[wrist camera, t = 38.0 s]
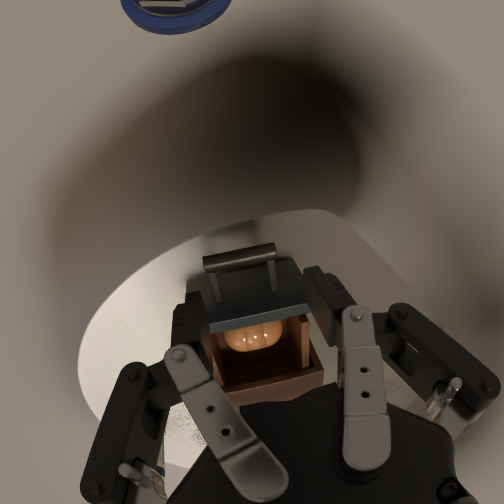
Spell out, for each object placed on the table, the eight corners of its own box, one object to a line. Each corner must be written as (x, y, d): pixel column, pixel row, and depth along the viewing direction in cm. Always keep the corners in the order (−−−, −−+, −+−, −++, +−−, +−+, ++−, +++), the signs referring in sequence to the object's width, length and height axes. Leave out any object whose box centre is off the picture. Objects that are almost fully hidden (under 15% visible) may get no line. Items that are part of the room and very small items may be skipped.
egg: (225, 335, 32) (229, 363, 28) (217, 307, 30) (220, 336, 26) (278, 323, 32) (288, 350, 28) (275, 294, 30) (286, 321, 26)
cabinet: (201, 337, 34) (205, 396, 26) (299, 316, 35) (324, 369, 27) (225, 397, 41) (232, 445, 33) (301, 380, 42) (318, 425, 34)
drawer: (174, 240, 27) (167, 282, 20) (289, 217, 27) (317, 251, 21) (214, 362, 35) (219, 407, 29) (298, 344, 36) (315, 386, 30)
